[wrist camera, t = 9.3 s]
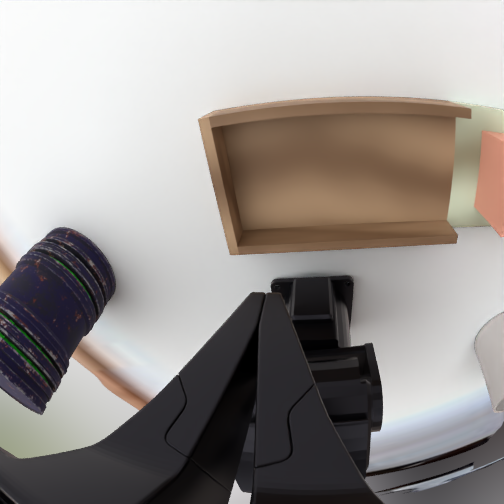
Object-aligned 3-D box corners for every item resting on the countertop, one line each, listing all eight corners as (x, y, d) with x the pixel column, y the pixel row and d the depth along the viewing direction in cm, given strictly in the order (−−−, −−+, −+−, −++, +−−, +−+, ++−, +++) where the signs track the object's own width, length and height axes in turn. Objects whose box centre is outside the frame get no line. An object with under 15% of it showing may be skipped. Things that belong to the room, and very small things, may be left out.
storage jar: (130, 305, 28) (65, 428, 16) (69, 300, 30) (7, 396, 18) (91, 221, 23) (-19, 348, 11) (32, 230, 25) (-56, 325, 13)
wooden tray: (515, 219, 16) (533, 239, 14) (238, 231, 21) (230, 255, 19) (529, 116, 12) (553, 127, 9) (213, 111, 17) (198, 119, 14)
